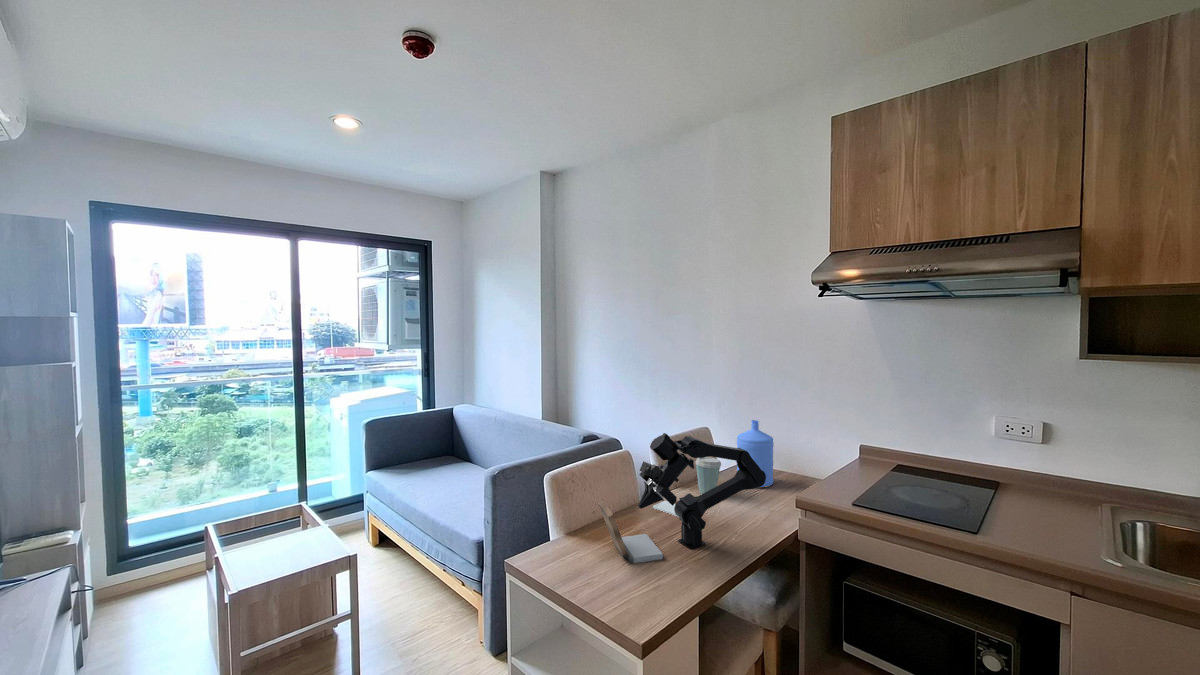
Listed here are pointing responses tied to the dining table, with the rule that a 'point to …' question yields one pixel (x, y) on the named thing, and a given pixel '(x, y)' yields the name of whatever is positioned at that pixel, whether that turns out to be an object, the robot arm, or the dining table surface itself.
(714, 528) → the dining table surface
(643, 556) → the base board
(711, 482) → the disposable coffee cup
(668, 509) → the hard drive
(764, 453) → the water jug
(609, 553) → the dining table surface
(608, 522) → the plank
